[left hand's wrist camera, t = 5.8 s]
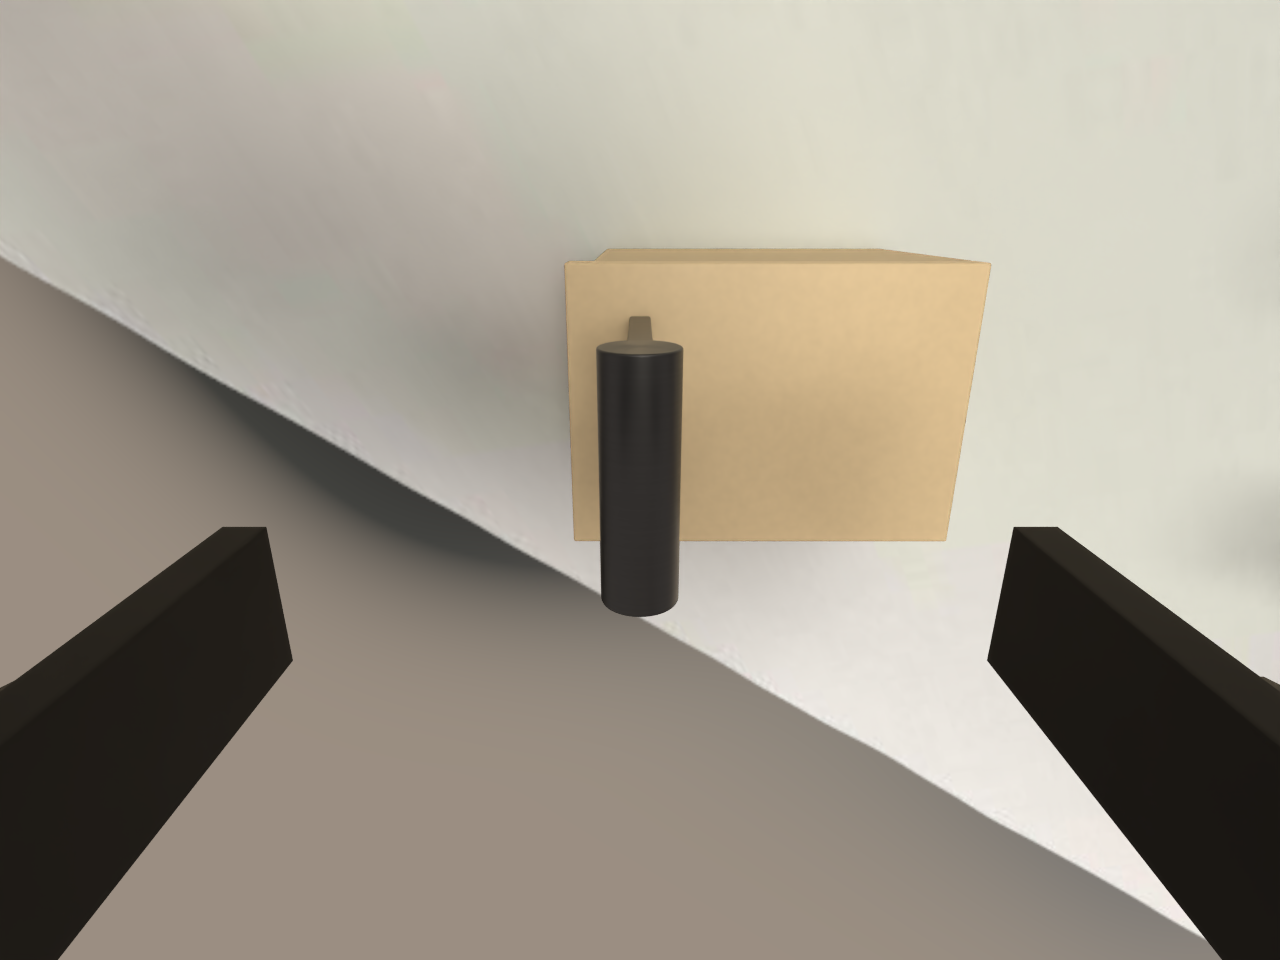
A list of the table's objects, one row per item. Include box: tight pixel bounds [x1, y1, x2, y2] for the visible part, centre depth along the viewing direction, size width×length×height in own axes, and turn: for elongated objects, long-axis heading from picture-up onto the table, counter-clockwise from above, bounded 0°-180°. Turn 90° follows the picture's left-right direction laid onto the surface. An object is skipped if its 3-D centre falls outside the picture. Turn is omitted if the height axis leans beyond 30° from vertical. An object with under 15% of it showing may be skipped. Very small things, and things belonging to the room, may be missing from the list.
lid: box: [564, 261, 991, 617], centre depth 22 cm, size 14×10×9 cm
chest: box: [595, 249, 970, 261], centre depth 31 cm, size 13×10×10 cm
